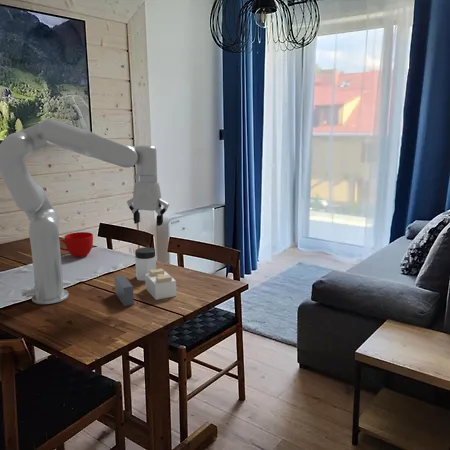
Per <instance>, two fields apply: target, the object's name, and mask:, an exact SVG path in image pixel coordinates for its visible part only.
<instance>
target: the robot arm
mask: <svg viewBox="0 0 450 450" xmlns="http://www.w3.org/2000/svg"><path fill="white" fill-rule="evenodd" d="M49 146H54V147H57V148H61V149H64V150H67V151H70V152H73V153H77V154H80V155H82V156H85V157H88V158H94V159H97V160H100V161H103V162H105V163H110V164H113V165H115V166H118V167H120V168H121V167H122V168H125V169H129V168H131V167H134V166H135V167H136V168H135V169H136V170H135V171H136V172H135V173H136V175H134V176H133V179H134V180H135V181H136V182H134V184H133V193H132V194H133V195H132V198H131V199H128V200H126V203H127V204H126V205H128V208H129V210H131V213H132V215H133V224H134V225H137V224H138V223H140V222H141V216H140V215H141V213H140V211H141V210H142V211H150V212H151V211H155V213H156V214H157V215H156V226H157V227H160V226H162V225H163V222H164V216H163V215H164V214H165V213H166V211H167V210H168V208H169V206H170V204H169V202H167V201H165V200H163V199H162V193H161V187H160V183H159V182H158V167H157V166H158V161H157V157H158V156H157V155H158V154H157V148H156V147H155V145H144V144H143V145H138V146H137V145H128V144H123V143H120V142H117V141H114V140H110V139H107V138H105V137H103V136H101V135H98V134H96V133H95V132H92V131H89V130H87V129H84V128H81V127H78V126H75V125H72V124H69V123H65V122H63V121H60V120H57V119H55V118H46V119H44V120H42V121H40V122H38V123H36V124H34V125H31V126H29V127H27V128H24V129H21V130H19V131H16V132H12V133H10V134H9V135H7V136H6V137H4V139H3V140H1V142H0V177H2V180H3V182H4V183H5V186H6V188H7V190H8V192H9V193H10V195H11V197H12V198H13V201H14V203H15V205H16V207H17V208H18V209H19V210H20V211H22V212H24V213H25V215H26V217H27V218H28V220H29V226H28V236H29V240H30V241H29V242H30V248H31V259H32V269H33V276H34V277H33V278H34V279H33V280H34V286H33V288H30V289H29V290H27V289H26V290H25V289H24V290H22V291H21V296H22V297H25V296H26V297H25V298H31V301H32V302H33V303H34V304H37V305H52V304H56V303H57V304H58V303H61V302H63V301H65V300H67V298H69V291H68V290H67V289H64V280H63V268H62V267H63V266H62V256H61V255H62V254H61V249H60V247H61V241H59V240H60V233H59V232H60V230H59V229H60V228H59V224H60V223H59V216H58V215H57V212H56V210H55V209H54V207H53V205H52V203H51V201H50V199H49V197H48V196H47V194H46V191H45V190H44V189H43V187H42V186H41V185H40V184H37V183H36V182H35V180H34V179H33V176H32V175H31V173H30V171H29V169H28V167H27V166H26V165H27V164H26V163H25V159H26V157H28V156H29V155H31V154H33V153H35V152H38V151H41V150H42V149H45V148H47V147H49ZM162 205H163V208H162Z"/></svg>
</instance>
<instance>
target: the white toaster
mask: <svg viewBox="0 0 450 450" xmlns="http://www.w3.org/2000/svg"><path fill="white" fill-rule="evenodd" d="M145 280H146V281H145V290H147V292H148V293H149V294H150V295H151V296H152V297H153V299H155V301H156V300H157V301H158V300H162V299H169V298H172V297H177V280H176V279H175V278H174V277H173V276H171V275H170V274H169V273H168V272H167V271H166V270H165V269H163V268H156V269H155V270H149V274H145Z"/></svg>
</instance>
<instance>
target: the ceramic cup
mask: <svg viewBox="0 0 450 450" xmlns="http://www.w3.org/2000/svg"><path fill="white" fill-rule="evenodd" d="M59 242H62V243H64V245H65V247H66V248H64V247H61V246H60V251H61V250H62V251H67V252H68V253H69V254H70V255H71V256H72V257H73V258H77V257H79V258H85V257H87V256H88V255H89V254H90V252H91V250H92V248H93V243H94V234H93V233H91V232H86V231H83V232H82V231H79V232H71V233H67V234H65V235H64V239H61V238H59ZM84 256H85V257H84Z"/></svg>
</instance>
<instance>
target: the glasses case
mask: <svg viewBox="0 0 450 450" xmlns="http://www.w3.org/2000/svg"><path fill="white" fill-rule="evenodd" d="M114 291H115V295H116V297H117V298H118V299H119V301H120V303H122V305H123V307H127V306H128V307H129V306H133V305H135V303H134V302H135V299H134V298H135V297H134V286H133V285H132V283H131V282H130V281H129V279H128V278H127V277H126V276H125V275H115V276H114Z"/></svg>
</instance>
